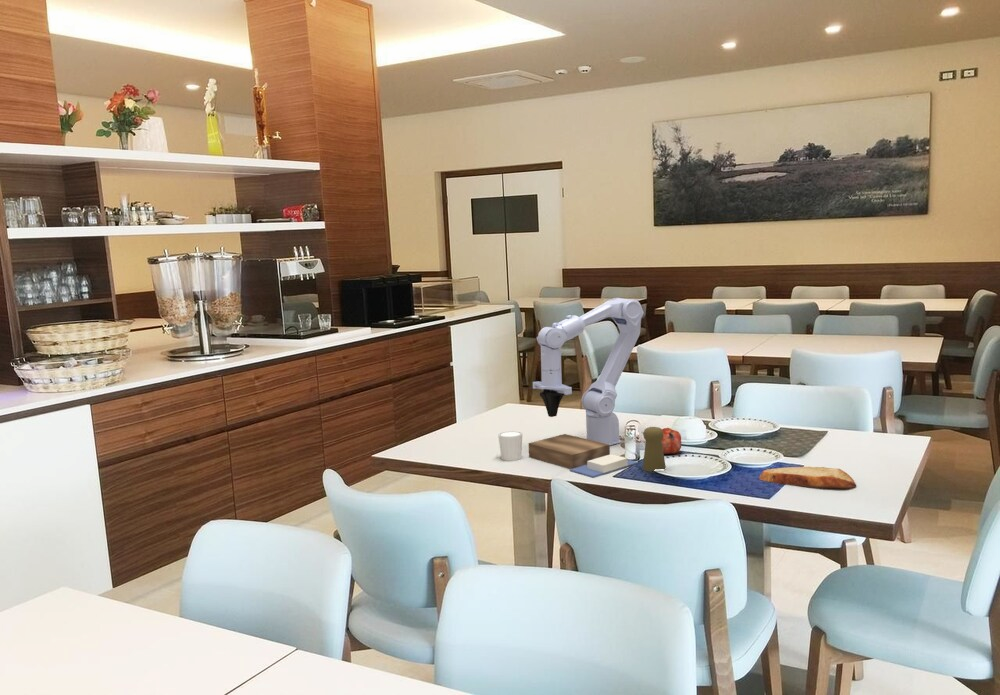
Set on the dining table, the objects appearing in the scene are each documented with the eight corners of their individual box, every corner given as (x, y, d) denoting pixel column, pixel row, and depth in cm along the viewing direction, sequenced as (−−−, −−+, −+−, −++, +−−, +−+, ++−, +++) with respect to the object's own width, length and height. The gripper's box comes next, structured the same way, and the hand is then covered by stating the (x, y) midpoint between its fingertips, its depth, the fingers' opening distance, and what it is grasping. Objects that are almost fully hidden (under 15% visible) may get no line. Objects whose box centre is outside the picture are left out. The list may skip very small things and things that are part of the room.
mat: (614, 457, 224) (614, 456, 224) (638, 463, 218) (638, 462, 218) (569, 470, 214) (569, 469, 214) (593, 477, 207) (593, 476, 207)
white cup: (526, 455, 231) (525, 431, 230) (520, 461, 225) (519, 437, 224) (503, 454, 233) (501, 430, 232) (496, 461, 227) (495, 436, 226)
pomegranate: (652, 458, 229) (655, 445, 221) (653, 435, 233) (656, 420, 224) (679, 461, 228) (683, 448, 220) (680, 437, 232) (684, 423, 223)
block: (627, 458, 215) (627, 465, 215) (610, 454, 219) (611, 461, 220) (603, 465, 209) (603, 473, 210) (587, 461, 214) (587, 468, 214)
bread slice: (753, 478, 202) (753, 463, 201) (813, 468, 207) (813, 454, 207) (800, 499, 185) (800, 483, 184) (864, 488, 190) (865, 472, 190)
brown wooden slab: (565, 447, 238) (564, 433, 237) (610, 458, 224) (609, 444, 223) (529, 457, 229) (528, 443, 229) (573, 469, 215) (572, 454, 215)
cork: (648, 473, 209) (647, 431, 207) (638, 466, 215) (637, 426, 213) (670, 470, 211) (669, 428, 209) (659, 464, 216) (658, 423, 215)
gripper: (524, 368, 234) (525, 414, 236) (558, 373, 222) (559, 422, 224) (542, 365, 238) (543, 410, 240) (576, 370, 227) (577, 418, 229)
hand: (552, 416), depth 232 cm, fingers closed
